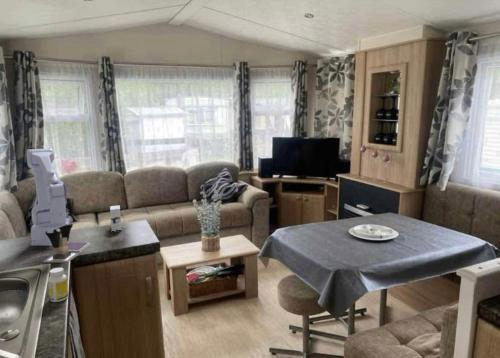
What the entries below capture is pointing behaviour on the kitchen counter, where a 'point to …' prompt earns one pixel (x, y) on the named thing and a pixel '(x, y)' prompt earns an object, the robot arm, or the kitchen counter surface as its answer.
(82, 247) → the ink pad
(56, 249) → the stamp
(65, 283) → the supplement bottle
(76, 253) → the marked square
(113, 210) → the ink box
